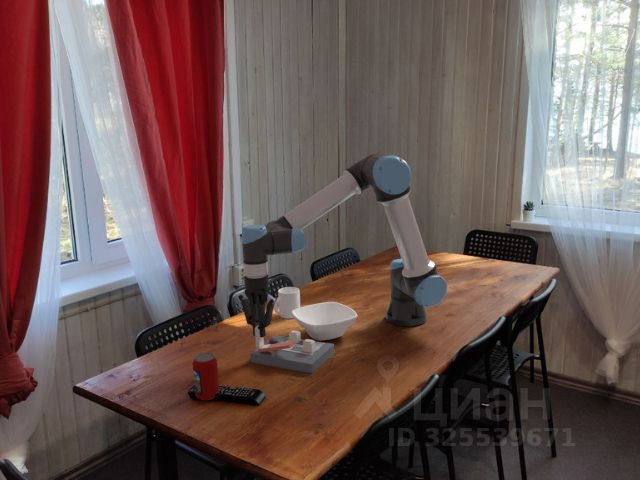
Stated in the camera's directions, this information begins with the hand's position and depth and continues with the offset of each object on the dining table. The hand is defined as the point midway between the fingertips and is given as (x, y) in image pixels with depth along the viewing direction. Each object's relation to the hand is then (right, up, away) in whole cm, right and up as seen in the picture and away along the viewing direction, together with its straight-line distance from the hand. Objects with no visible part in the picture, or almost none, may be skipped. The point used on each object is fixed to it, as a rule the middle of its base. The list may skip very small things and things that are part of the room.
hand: (259, 345), depth 181 cm
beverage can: (-12, -10, -21) cm, 27 cm away
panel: (+11, -4, +2) cm, 11 cm away
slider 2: (+16, -1, -2) cm, 16 cm away
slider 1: (+11, 0, +6) cm, 13 cm away
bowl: (+21, 0, +18) cm, 28 cm away
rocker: (+5, 0, -3) cm, 6 cm away
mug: (+6, +4, +38) cm, 39 cm away
